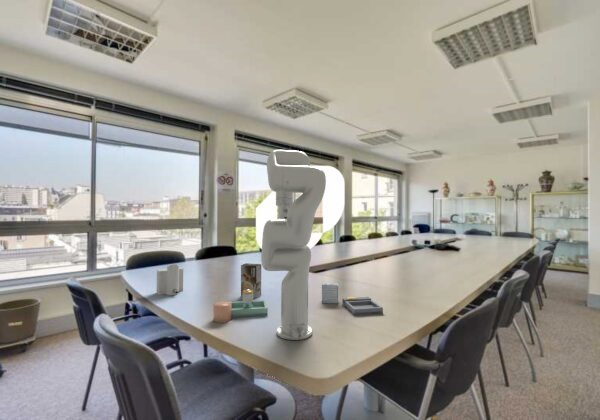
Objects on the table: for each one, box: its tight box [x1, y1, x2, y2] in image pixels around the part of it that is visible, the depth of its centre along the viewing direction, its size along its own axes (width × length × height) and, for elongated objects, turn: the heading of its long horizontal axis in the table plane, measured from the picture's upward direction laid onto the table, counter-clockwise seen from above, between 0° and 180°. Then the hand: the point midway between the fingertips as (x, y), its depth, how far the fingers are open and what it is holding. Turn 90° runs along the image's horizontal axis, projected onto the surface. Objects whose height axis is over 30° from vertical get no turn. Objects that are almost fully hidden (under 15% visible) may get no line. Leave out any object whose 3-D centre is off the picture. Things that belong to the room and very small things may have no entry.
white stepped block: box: [156, 263, 184, 296], centre depth 152 cm, size 12×14×15 cm
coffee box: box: [240, 262, 262, 299], centre depth 149 cm, size 9×6×16 cm
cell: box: [242, 289, 254, 309], centre depth 124 cm, size 4×4×8 cm
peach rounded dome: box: [212, 301, 232, 324], centre depth 115 cm, size 7×7×6 cm
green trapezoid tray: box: [230, 299, 269, 319], centre depth 124 cm, size 11×16×3 cm
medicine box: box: [321, 282, 339, 304], centre depth 139 cm, size 8×4×9 cm, turn 84°
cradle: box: [341, 296, 384, 316], centre depth 129 cm, size 14×13×3 cm
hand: (283, 239), depth 132 cm, fingers open, 9 cm apart
